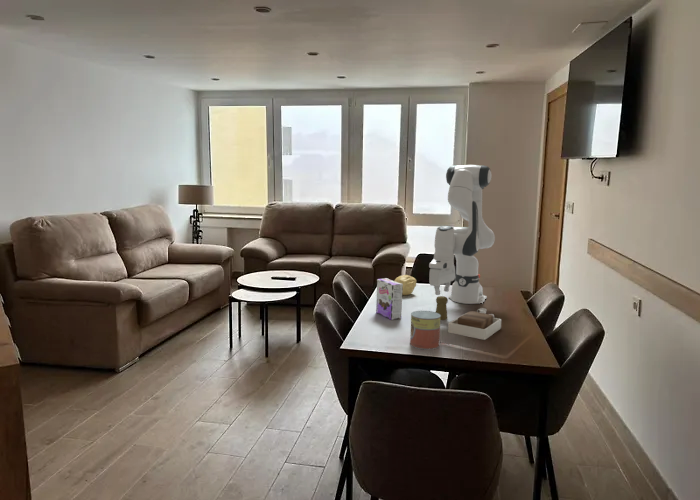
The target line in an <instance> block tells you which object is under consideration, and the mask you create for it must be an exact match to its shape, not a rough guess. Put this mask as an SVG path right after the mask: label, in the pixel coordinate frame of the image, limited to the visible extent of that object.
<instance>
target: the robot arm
mask: <svg viewBox="0 0 700 500" xmlns="http://www.w3.org/2000/svg"><path fill="white" fill-rule="evenodd" d="M445 179H446V183H447V184H448V185H449V188H448V193H447V202H448V203H449V206H451V207H452V208H453V209H454V210H456V211H458V212H459V215H460V217H461V218H462V219H463V220H465V221H466V222H467V223H468V226H450V225H440V226H438V227H437V228H436V231H435V237H434V254H433V259H432V260H431V262H429V264H428V267H429V268H430V269H429V276H428V277H429V279H428V280H429V281H428V282H429V285H430V286H433V288H434V291H435V292H434V294H435V295H436V296H441V290H440V288H441V285H444V288H443V291H444V292H445V293H446V292H447V293H448V292H450V286H451V293H450V294H451V295H449V296H448V300H449V299H450V300H451V301H453V302H455V303H458V304H459V303H460V304H464V305H465V304H467V305H468V304H470V305H473V304H480V303H482V304H484V303H485V302H486V300H487V298H488V297H487V295H484V294H483V292H484V291H483V290H484V289H483V286H482V285H481V283H480V278H481V274H480V273H479V260H478V258H477V257H476V256H475V254H477V253H478V252H479V250H483V249H489V248H492V247H493V246H494V244H495V240H496V235H495V233H494V231H493V230H492V229H491V228H490V227H488V225H487V224H486V223H485V219H484V218H483V190H484V189H485V188H487V187H488V186H489V184H490V183H491V181H492V171H491V168H490V166H487V165H484V164H483V165H478V164H464V165H462V164H461V165H457V164H456V165H451V166H449V167H448V168H447V170H446V174H445ZM455 260H456V266H455V264H454V263H455ZM453 281H454V282H453ZM452 282H453V283H452ZM451 283H452V285H451ZM485 299H486V300H485ZM483 302H484V303H483Z"/></svg>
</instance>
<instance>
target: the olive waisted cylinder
mask: <svg viewBox="0 0 700 500" xmlns="http://www.w3.org/2000/svg"><path fill="white" fill-rule="evenodd" d="M435 301H436V307H435V312H436V313H439V314H440V315H441V317H440V321H447V320H448V308H447V304H448V302H449V298H448V297H447V296H443V295H442V296H441V295H437V297H436V298H435Z"/></svg>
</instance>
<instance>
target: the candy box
mask: <svg viewBox="0 0 700 500" xmlns="http://www.w3.org/2000/svg"><path fill="white" fill-rule="evenodd" d="M402 291H403V284H401V283H398V282H395V280H392V279H389V278H387V277H384V278H377V279H376V304H375V305H376V309H375V311H376V312H375V313H376V314H379V315H380V316H382V317H384V318H386V319H389V320H391V321H392V320H393V321H394V320H401V319H402V310H403V309H402V307H403V295H402Z"/></svg>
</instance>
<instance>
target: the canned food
mask: <svg viewBox="0 0 700 500" xmlns="http://www.w3.org/2000/svg"><path fill="white" fill-rule="evenodd" d="M440 317H441V315H440V314H439V313H436V311H432V310H415V311H412V312H411V313H410V336H409V337H410V339H409V345H410V346H411V347H413V348H415V349H418V350H424V351H425V350H426V351H427V350H435V349H437V348H439V347H440V336H441V335H440V334H441V332H440V331H441V320H440Z"/></svg>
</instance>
